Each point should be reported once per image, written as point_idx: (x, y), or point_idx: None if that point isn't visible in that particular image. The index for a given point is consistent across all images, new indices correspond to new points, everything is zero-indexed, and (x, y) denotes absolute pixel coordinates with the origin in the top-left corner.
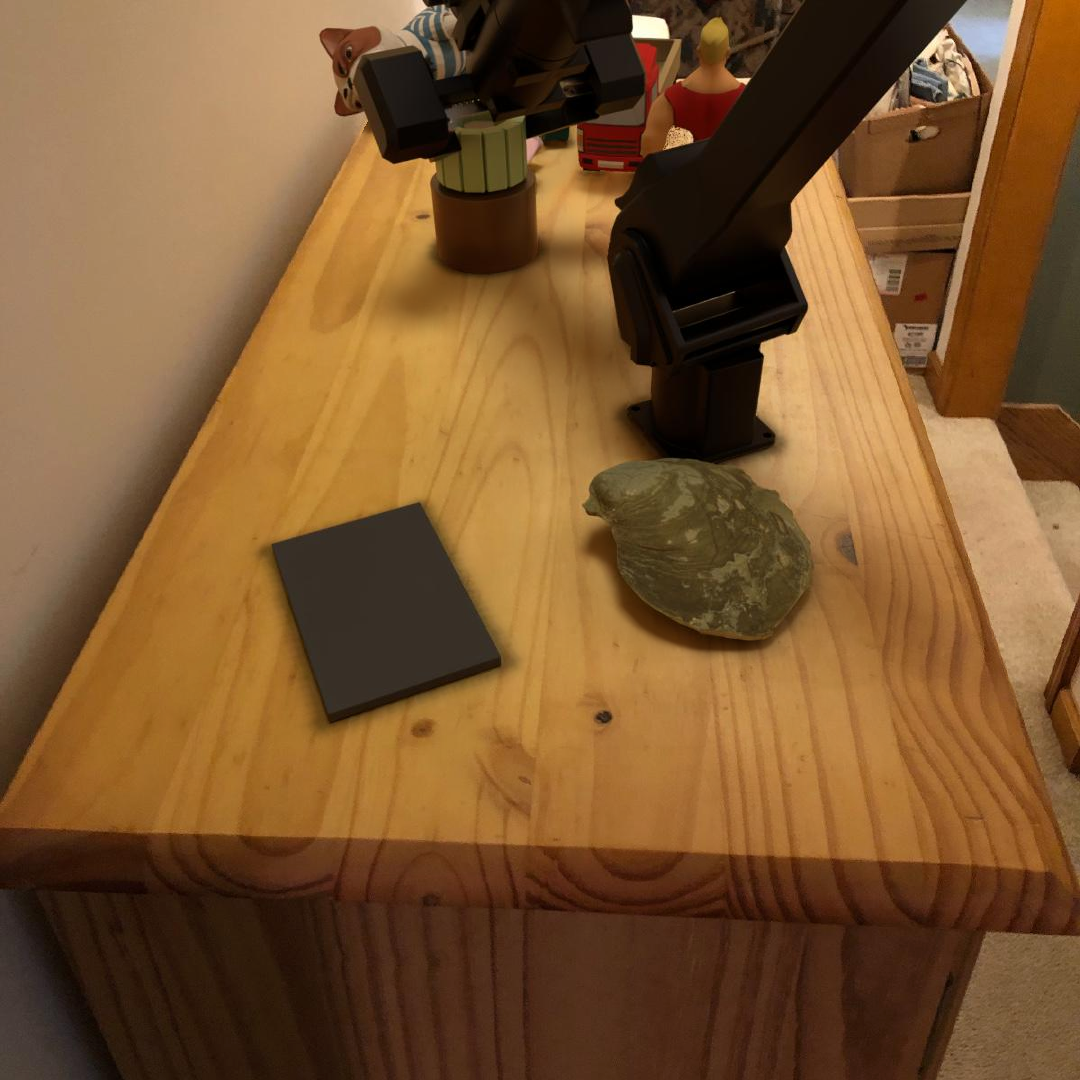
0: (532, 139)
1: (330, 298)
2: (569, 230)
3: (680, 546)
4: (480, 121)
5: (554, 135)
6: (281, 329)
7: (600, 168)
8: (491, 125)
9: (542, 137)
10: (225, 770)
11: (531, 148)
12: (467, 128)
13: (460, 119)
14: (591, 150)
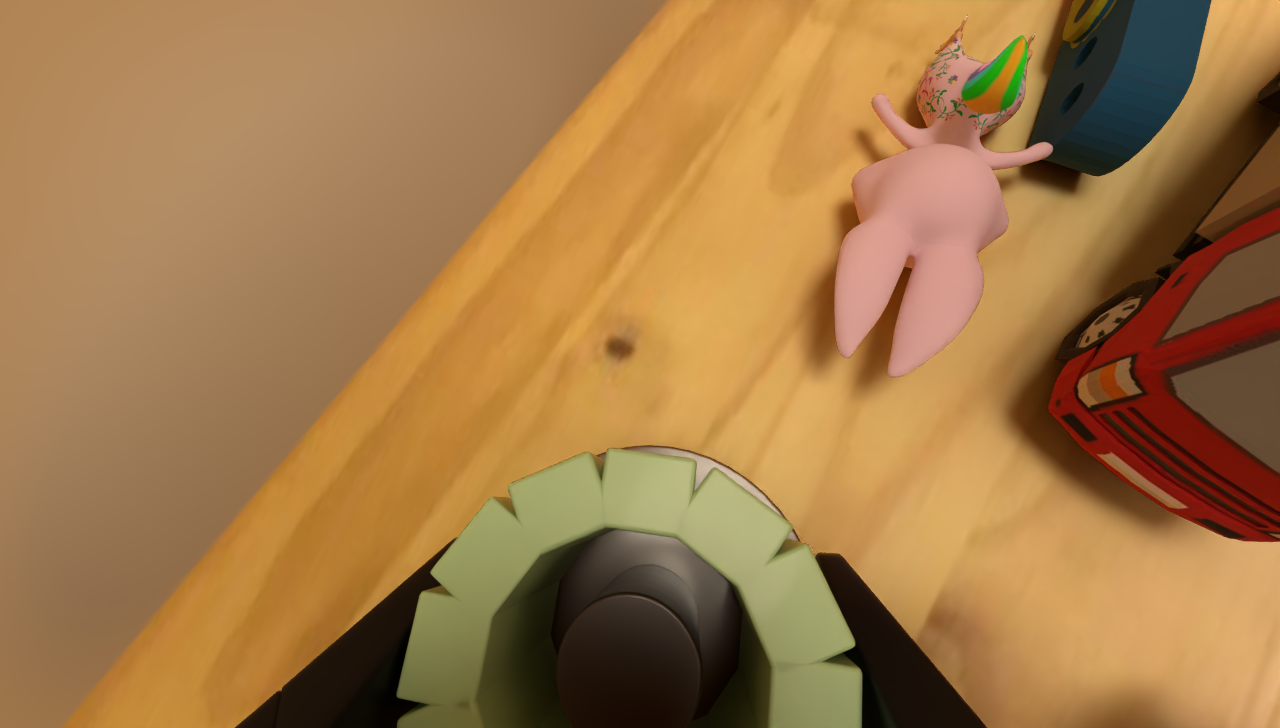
0: (967, 286)
1: (296, 583)
2: (884, 605)
3: None
4: (654, 632)
5: (1063, 163)
6: (166, 649)
7: (1100, 460)
8: (674, 717)
9: (1034, 129)
10: None
11: (940, 335)
12: (563, 677)
13: (602, 530)
14: (1116, 425)
